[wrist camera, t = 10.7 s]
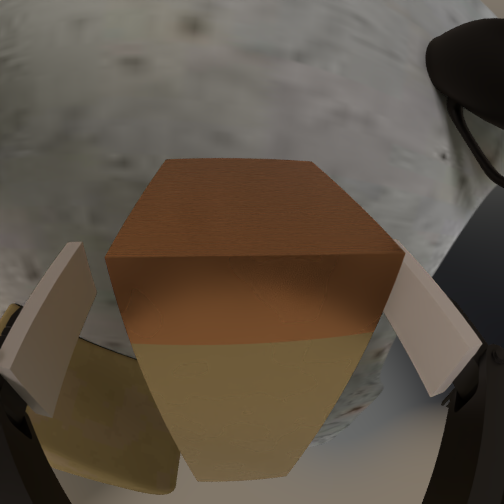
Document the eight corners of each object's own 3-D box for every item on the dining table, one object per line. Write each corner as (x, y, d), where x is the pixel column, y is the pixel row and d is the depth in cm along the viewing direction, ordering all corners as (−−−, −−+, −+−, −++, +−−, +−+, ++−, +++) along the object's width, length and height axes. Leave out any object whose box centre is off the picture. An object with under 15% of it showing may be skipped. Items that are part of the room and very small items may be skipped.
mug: (397, 140, 19) (486, 184, 11) (414, 6, 12) (505, -7, 4) (462, 161, 20) (538, 206, 12) (480, 47, 14) (561, 60, 6)
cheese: (194, 353, 29) (194, 490, 16) (176, 395, 33) (175, 501, 21) (9, 296, 23) (-47, 405, 10) (23, 348, 27) (-12, 441, 14)
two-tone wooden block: (265, 361, 20) (286, 476, 13) (196, 363, 19) (197, 481, 12) (291, 144, 12) (405, 253, 5) (178, 143, 12) (104, 257, 4)
